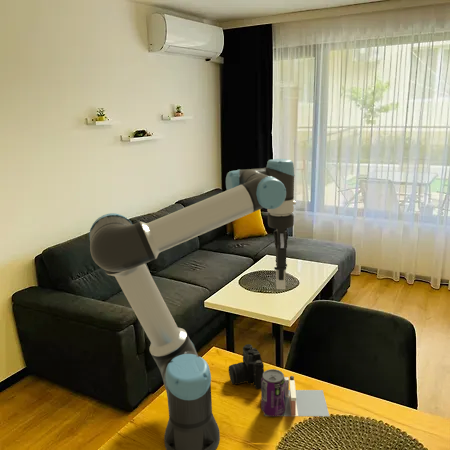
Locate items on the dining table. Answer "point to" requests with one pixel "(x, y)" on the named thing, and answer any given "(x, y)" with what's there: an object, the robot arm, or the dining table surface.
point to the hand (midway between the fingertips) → (280, 288)
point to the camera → (248, 368)
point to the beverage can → (273, 392)
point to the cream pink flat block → (293, 397)
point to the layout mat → (307, 404)
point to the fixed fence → (287, 384)
